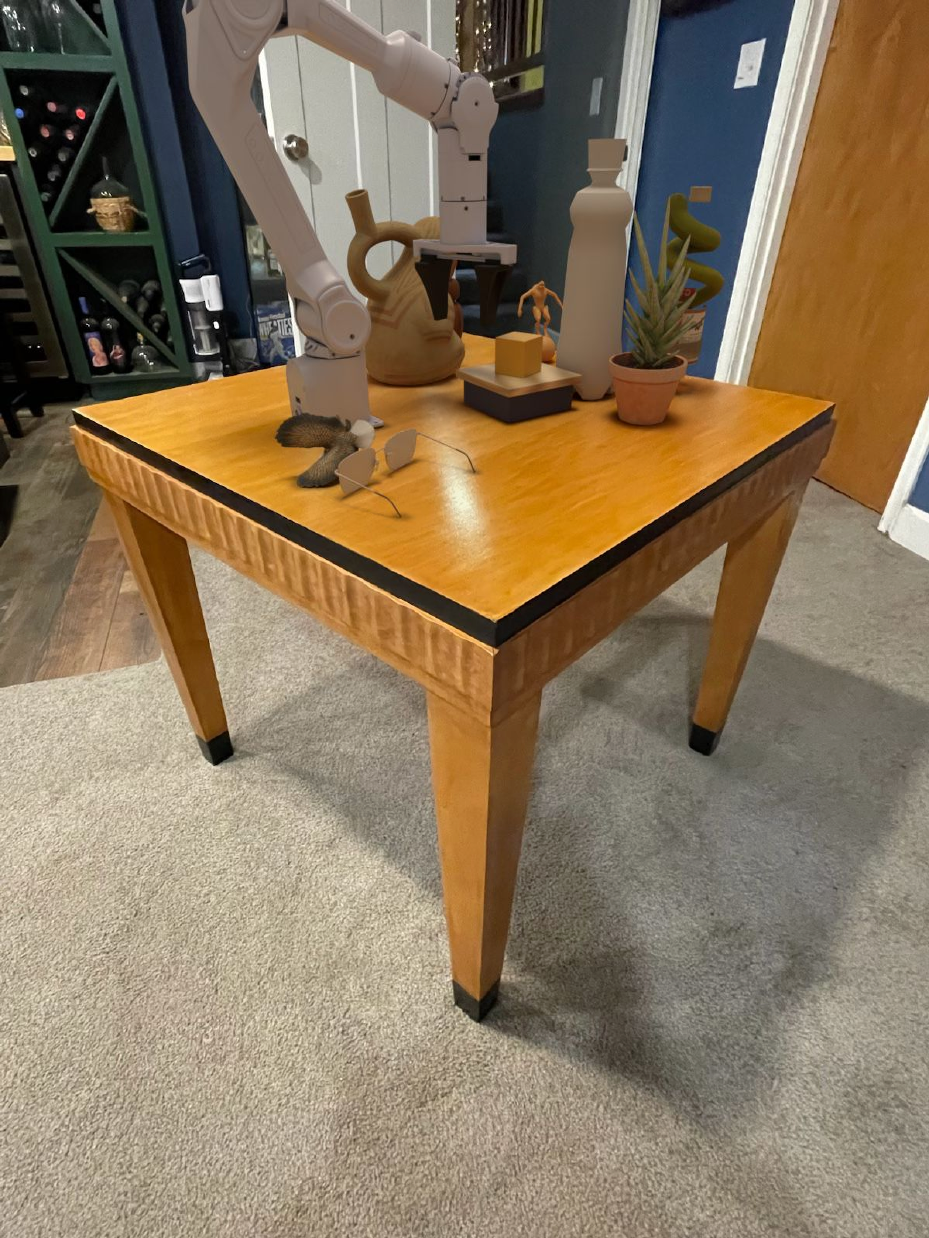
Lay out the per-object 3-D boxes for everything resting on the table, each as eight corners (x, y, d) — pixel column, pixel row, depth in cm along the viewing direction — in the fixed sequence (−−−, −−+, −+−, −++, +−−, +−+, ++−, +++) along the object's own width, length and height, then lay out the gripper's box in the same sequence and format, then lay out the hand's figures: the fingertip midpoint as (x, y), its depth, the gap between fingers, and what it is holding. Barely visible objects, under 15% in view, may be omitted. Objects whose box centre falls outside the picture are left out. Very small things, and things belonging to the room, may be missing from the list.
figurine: (524, 366, 112) (528, 285, 105) (510, 358, 116) (512, 280, 110) (570, 362, 114) (576, 282, 107) (554, 354, 119) (559, 277, 112)
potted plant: (588, 413, 91) (609, 194, 77) (645, 403, 94) (674, 192, 81) (637, 435, 83) (669, 197, 70) (696, 423, 87) (738, 195, 73)
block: (523, 378, 89) (524, 341, 86) (494, 373, 91) (495, 337, 88) (541, 371, 92) (543, 335, 89) (513, 366, 94) (514, 331, 91)
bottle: (541, 395, 98) (555, 139, 82) (572, 381, 104) (591, 141, 88) (598, 405, 94) (625, 137, 77) (628, 390, 100) (658, 139, 83)
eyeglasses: (417, 457, 78) (418, 423, 75) (477, 477, 74) (480, 442, 72) (334, 500, 68) (332, 462, 66) (399, 525, 65) (399, 486, 62)
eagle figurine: (322, 441, 79) (262, 450, 72) (349, 392, 75) (288, 396, 68) (364, 488, 78) (307, 502, 71) (394, 441, 73) (337, 450, 66)
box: (507, 425, 87) (508, 389, 84) (456, 403, 95) (455, 369, 93) (579, 409, 92) (582, 375, 90) (524, 389, 101) (525, 357, 98)
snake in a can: (661, 375, 107) (689, 185, 93) (717, 388, 100) (756, 186, 86) (611, 388, 101) (634, 187, 87) (668, 403, 94) (702, 189, 80)
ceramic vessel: (491, 374, 108) (494, 186, 94) (394, 399, 97) (380, 191, 83) (421, 356, 118) (414, 185, 104) (326, 377, 107) (304, 188, 93)
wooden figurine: (462, 350, 122) (462, 255, 113) (430, 350, 122) (427, 255, 114) (463, 342, 127) (463, 251, 119) (432, 342, 127) (430, 251, 119)
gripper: (532, 200, 81) (527, 323, 89) (435, 198, 88) (438, 312, 96) (498, 203, 76) (496, 333, 84) (400, 200, 84) (406, 320, 91)
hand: (463, 322), depth 90 cm, fingers open, 7 cm apart
